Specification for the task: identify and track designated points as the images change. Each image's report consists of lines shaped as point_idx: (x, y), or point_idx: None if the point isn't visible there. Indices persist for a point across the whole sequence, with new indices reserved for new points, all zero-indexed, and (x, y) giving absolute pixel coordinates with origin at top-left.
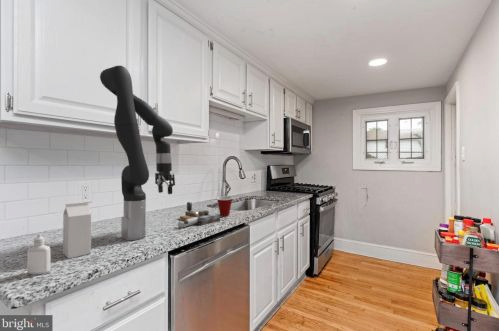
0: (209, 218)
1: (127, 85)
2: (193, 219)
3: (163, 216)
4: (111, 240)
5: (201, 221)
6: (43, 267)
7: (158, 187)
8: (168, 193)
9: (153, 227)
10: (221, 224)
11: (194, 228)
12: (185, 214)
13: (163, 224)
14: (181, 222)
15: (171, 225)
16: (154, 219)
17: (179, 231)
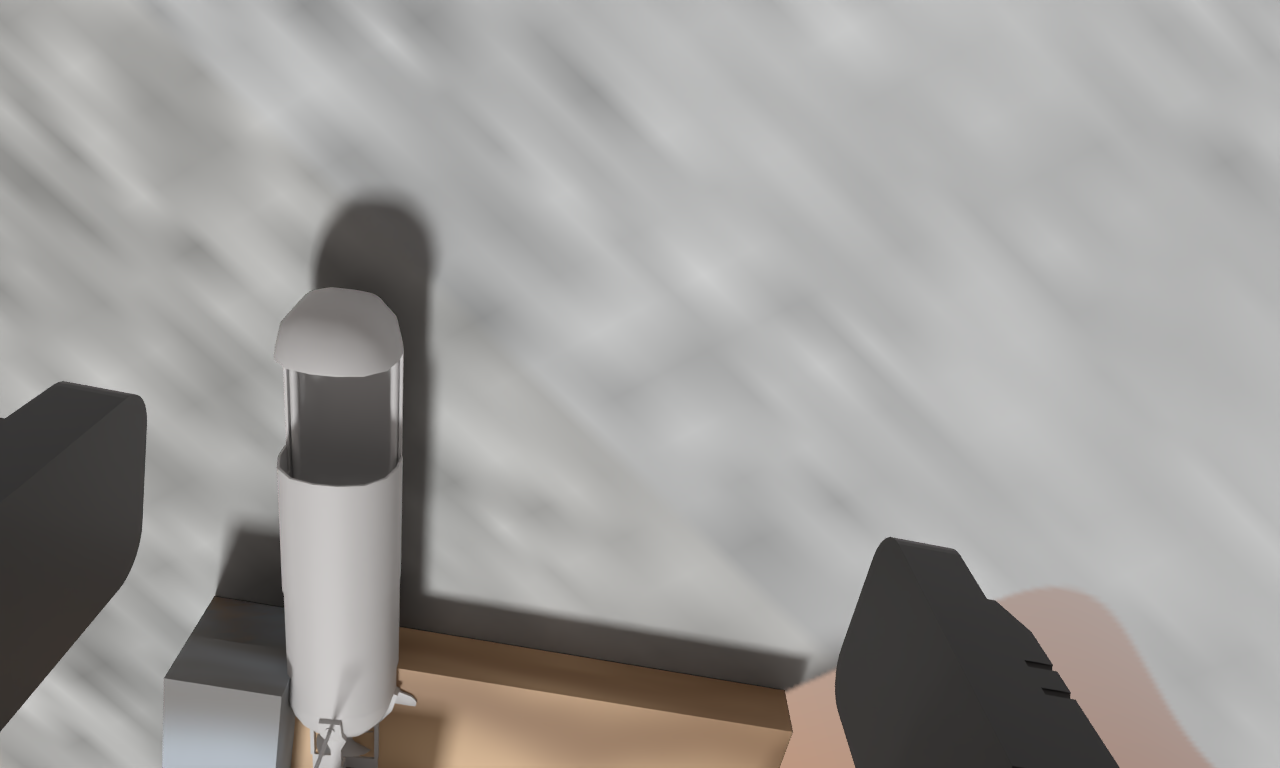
0: None
1: None
2: (287, 595)
3: (1191, 730)
4: None
5: (205, 639)
6: None
7: (1023, 698)
8: (63, 385)
9: (827, 110)
10: (30, 755)
11: (160, 409)
12: None
13: (814, 356)
14: (287, 336)
15: (638, 372)
16: (1208, 529)
17: (204, 140)
